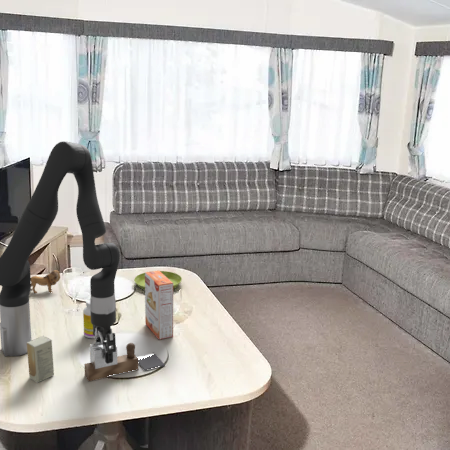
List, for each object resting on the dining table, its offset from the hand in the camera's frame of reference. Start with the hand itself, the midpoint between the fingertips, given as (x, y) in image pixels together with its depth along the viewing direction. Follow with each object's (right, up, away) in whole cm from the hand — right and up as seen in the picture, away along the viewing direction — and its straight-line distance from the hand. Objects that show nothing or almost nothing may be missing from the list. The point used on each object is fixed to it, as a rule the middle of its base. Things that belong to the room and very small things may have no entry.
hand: (104, 356), depth 182 cm
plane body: (+2, -6, +3) cm, 6 cm away
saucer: (+8, +14, +76) cm, 78 cm away
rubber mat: (+13, -4, +10) cm, 16 cm away
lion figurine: (-39, +13, +65) cm, 77 cm away
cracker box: (+13, +2, +32) cm, 35 cm away
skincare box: (-19, -6, -1) cm, 20 cm away
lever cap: (0, -2, 0) cm, 2 cm away
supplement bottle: (-10, +1, +27) cm, 29 cm away
